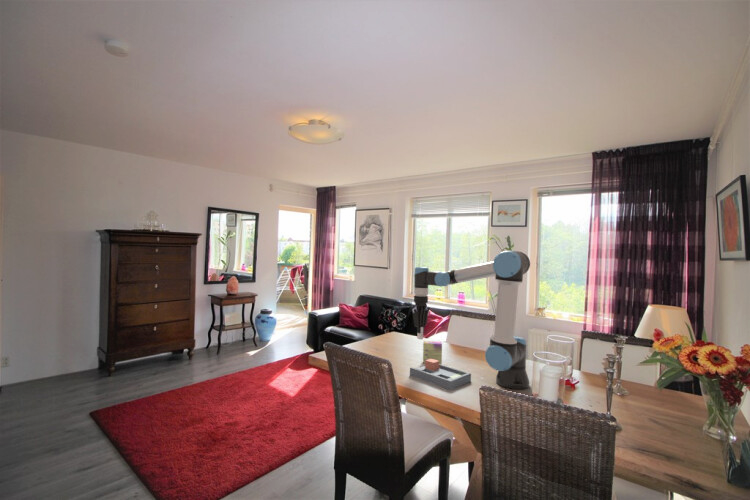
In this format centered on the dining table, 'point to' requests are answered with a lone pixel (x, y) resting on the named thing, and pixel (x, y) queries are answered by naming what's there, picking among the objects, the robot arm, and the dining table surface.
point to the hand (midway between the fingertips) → (420, 338)
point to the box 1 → (432, 351)
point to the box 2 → (442, 376)
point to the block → (432, 364)
